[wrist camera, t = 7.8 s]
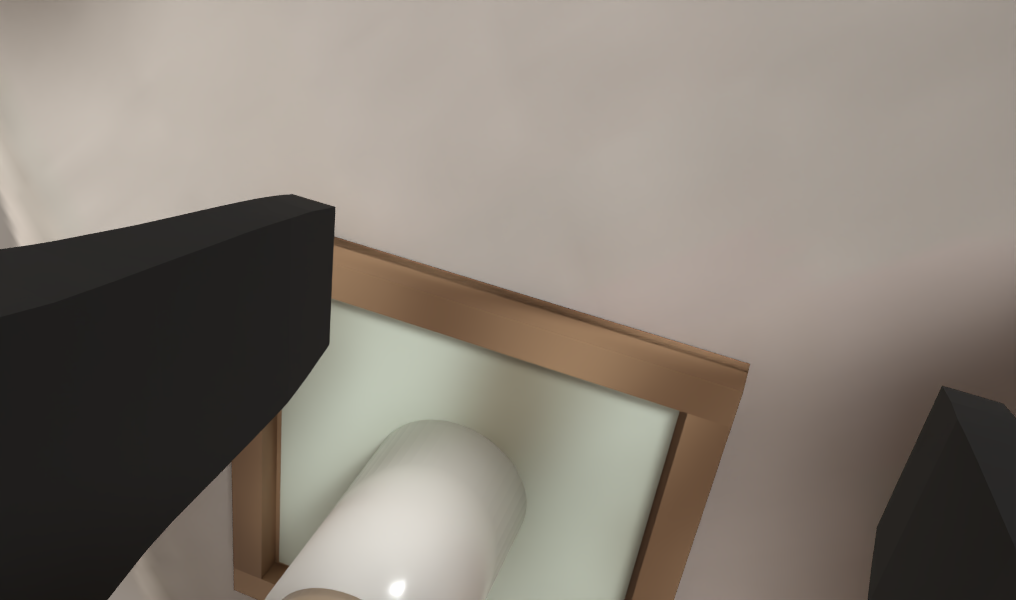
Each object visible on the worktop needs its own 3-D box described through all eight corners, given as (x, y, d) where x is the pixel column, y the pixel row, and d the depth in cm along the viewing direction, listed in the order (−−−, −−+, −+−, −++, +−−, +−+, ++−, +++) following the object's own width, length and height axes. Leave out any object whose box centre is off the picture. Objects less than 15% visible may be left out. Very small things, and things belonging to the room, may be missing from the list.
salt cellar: (530, 440, 24) (428, 632, 19) (523, 567, 26) (429, 773, 21) (374, 404, 25) (234, 574, 20) (379, 528, 27) (255, 712, 22)
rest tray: (749, 363, 21) (743, 391, 20) (632, 716, 28) (623, 750, 27) (254, 212, 24) (227, 230, 23) (254, 564, 31) (234, 589, 30)
